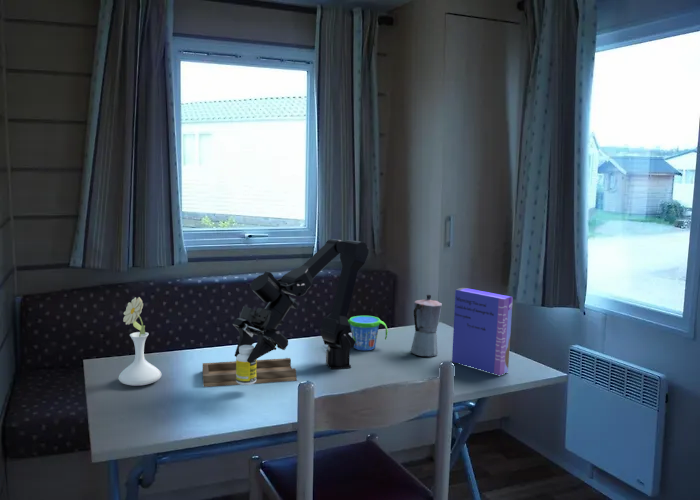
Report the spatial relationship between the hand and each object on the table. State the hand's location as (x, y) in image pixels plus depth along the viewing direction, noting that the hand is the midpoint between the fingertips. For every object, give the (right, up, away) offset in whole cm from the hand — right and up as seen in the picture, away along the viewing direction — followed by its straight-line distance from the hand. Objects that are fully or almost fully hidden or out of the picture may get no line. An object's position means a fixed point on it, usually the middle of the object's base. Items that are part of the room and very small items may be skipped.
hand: (242, 359), depth 160 cm
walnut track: (-1, -8, +15) cm, 17 cm away
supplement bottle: (+1, -7, +2) cm, 7 cm away
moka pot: (+54, -6, +40) cm, 67 cm away
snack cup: (+34, -5, +45) cm, 56 cm away
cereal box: (+69, -8, +28) cm, 75 cm away
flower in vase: (-30, -8, +7) cm, 32 cm away
